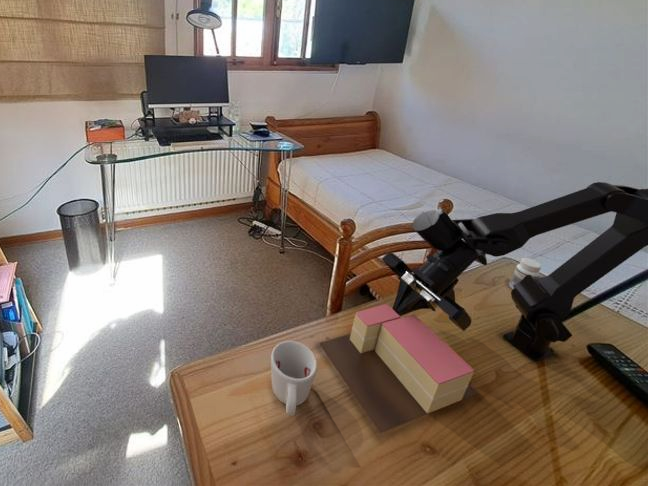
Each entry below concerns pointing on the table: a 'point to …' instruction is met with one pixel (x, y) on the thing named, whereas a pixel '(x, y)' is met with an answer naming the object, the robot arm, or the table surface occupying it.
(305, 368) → the cup
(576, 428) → the table surface
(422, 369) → the cake
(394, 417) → the serving board
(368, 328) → the cake slice
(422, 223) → the robot arm
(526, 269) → the pill bottle
